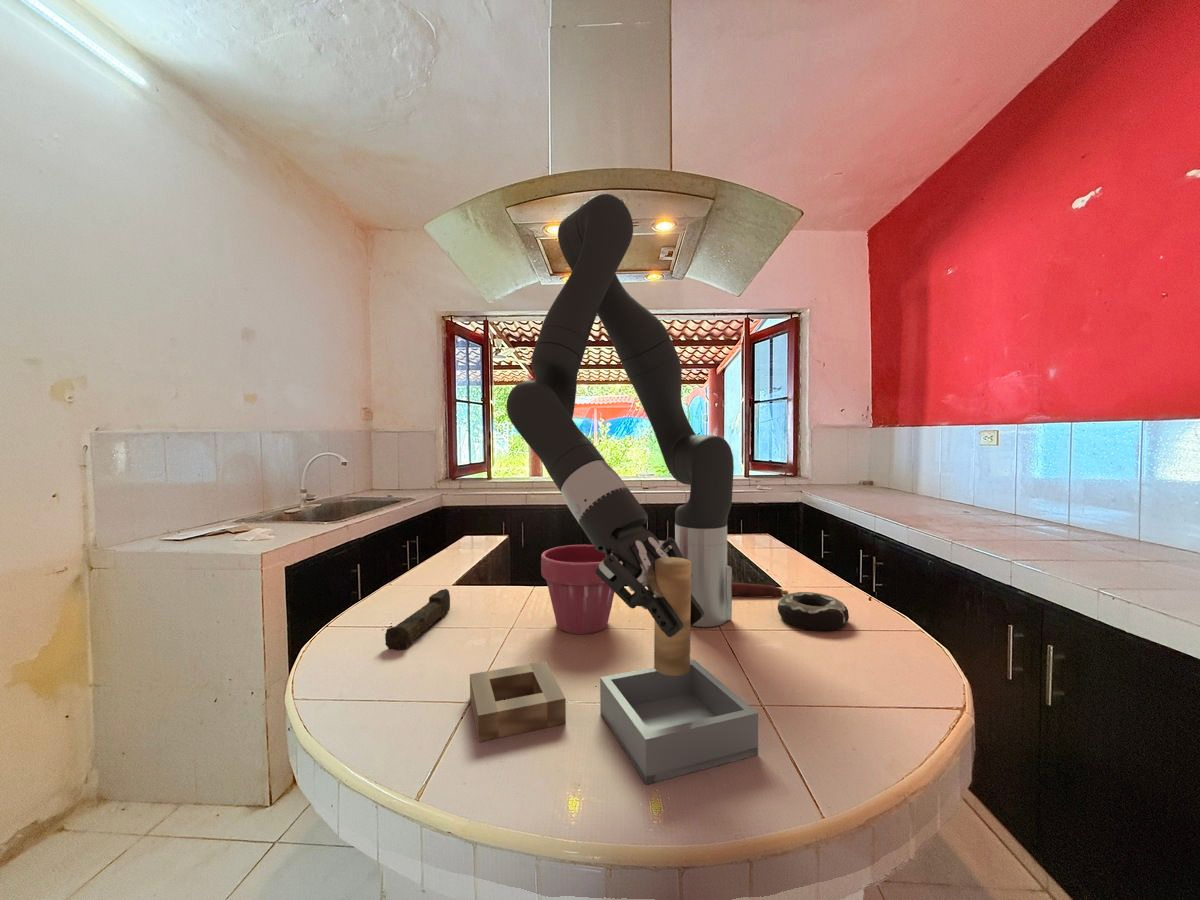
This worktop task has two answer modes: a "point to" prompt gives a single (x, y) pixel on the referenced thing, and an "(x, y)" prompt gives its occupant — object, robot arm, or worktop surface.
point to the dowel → (677, 591)
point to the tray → (677, 721)
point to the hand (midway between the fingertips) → (687, 625)
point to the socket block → (516, 701)
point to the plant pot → (577, 588)
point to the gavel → (756, 590)
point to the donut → (813, 611)
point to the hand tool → (418, 621)
